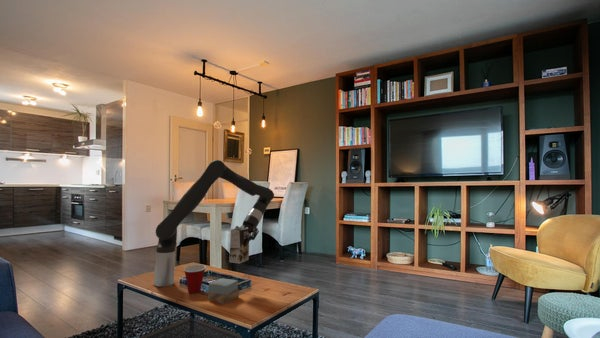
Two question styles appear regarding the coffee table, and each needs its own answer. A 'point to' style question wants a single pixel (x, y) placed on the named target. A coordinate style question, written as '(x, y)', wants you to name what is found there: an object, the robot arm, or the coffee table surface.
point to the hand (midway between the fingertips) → (237, 244)
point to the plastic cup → (194, 277)
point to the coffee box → (238, 246)
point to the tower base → (223, 297)
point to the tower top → (223, 286)
